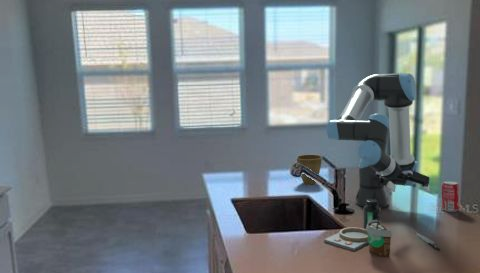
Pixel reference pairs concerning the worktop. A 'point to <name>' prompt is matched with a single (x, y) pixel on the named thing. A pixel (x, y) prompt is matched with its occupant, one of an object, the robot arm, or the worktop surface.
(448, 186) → the soda can
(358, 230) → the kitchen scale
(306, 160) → the plant pot
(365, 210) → the supplement bottle
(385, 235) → the food container
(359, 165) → the robot arm
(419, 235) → the chef's knife
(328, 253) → the worktop surface
